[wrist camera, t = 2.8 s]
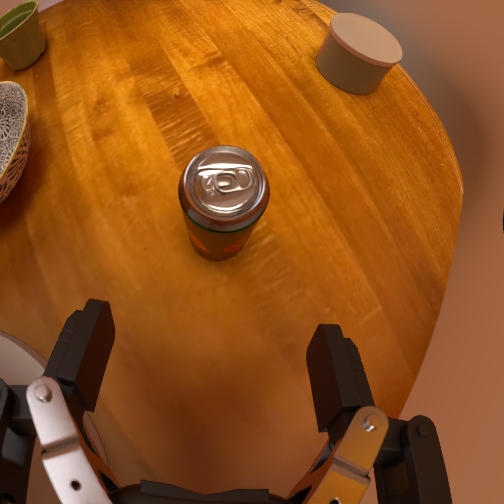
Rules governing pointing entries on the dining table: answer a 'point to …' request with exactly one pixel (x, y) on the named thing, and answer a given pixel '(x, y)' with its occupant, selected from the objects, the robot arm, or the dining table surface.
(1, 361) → the vase
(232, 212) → the soda can
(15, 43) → the plant pot
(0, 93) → the bowl
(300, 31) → the dining table surface
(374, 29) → the canister
